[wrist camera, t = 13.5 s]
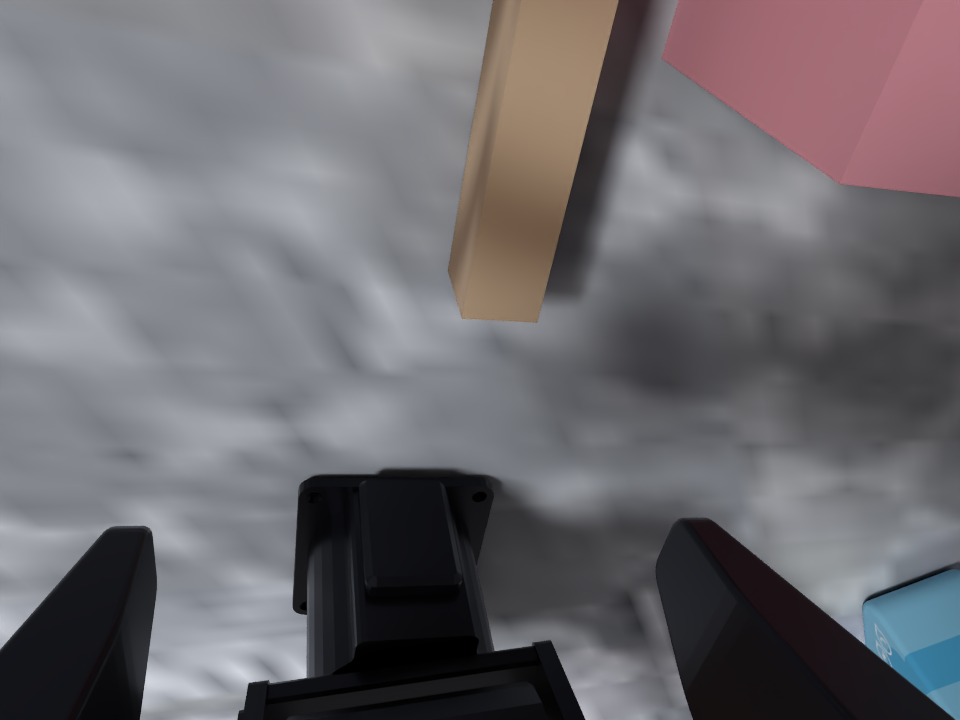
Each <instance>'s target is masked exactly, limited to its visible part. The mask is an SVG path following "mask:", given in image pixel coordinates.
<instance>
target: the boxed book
mask: <svg viewBox="0 0 960 720" xmlns="http://www.w3.org/2000/svg"><path fill="white" fill-rule="evenodd" d="M662 59H663V60H665V61H666V62H667V63H669V64H670V65H672V66H673V67H674V68H676V69H677V70H679V71H680V72H682V73H683V74H684V75H686V76H687V77H689V78H690V79H691V80H693V81H694V82H696V83H697V84H699V85H700V86H701V87H703V88H704V89H706V90H707V91H708V92H710V93H711V94H713V95H714V96H716V97H717V98H718V99H720V100H721V101H723V102H724V103H725V104H727V105H728V106H730V107H731V108H732V109H734V110H735V111H737V112H738V113H740V114H741V115H742V116H744V117H745V118H747V119H748V120H749V121H751V122H752V123H754V124H755V125H757V126H758V127H759V128H761V129H762V130H764V131H765V132H766V133H768V134H769V135H771V136H772V137H774V138H775V139H776V140H778V141H779V142H781V143H782V144H783V145H785V146H786V147H788V148H789V149H791V150H792V151H793V152H795V153H796V154H798V155H799V156H800V157H802V158H803V159H805V160H806V161H808V162H809V163H810V164H812V165H813V166H815V167H816V168H817V169H819V170H820V171H822V172H823V173H825V174H826V175H827V176H829V177H830V178H832V179H833V180H834V181H836V182H837V183H839V184H845V185H854V186H863V187H872V188H881V189H890V190H899V191H908V192H917V193H926V194H935V195H944V196H953V197H960V0H679V1H678V5H677V8H676V12H675V15H674V18H673V22H672V25H671V29H670V32H669V35H668V39H667V42H666V46H665V49H664V52H663V56H662Z"/></svg>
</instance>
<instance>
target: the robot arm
mask: <svg viewBox="0 0 960 720" xmlns="http://www.w3.org/2000/svg"><path fill="white" fill-rule="evenodd" d="M480 491H481V493H478V494H475V493H476V492H480ZM313 492H317V493H319V494H315V495H312V494H310V493H313ZM493 497H494V493H493V489H492V485H491V483H490V482H489V481H488V480H486V479H483V478H311V479H307V480H305V481H303V482H302V483H301V484H300V486H299V491H298V510H297V529H296V548H295V567H294V586H293V610H294V611H295V612H296V613H299V614H304V615H307V678H304V679H297V680H290V681H283V682H276V683H270V682H269V680H267V681H260V682H253V683H249V684H248V690H247V696H246V701H245V707H244V710H240V711H239V714H238V720H585V718H584V716H583V713H582V711H581V709H580V706H579V704H578V702H577V699H576V697H575V695H574V692H573V690H572V688H571V686H570V683H569V681H568V679H567V676H566V674H565V672H564V669H563V667H562V665H561V663H560V660H559V658H558V656H557V653H556V651H555V649H554V646H553V644H552V642H551V640H548V641H541V642H534V643H532V646H529V647H522V648H515V649H508V650H501V651H495V650H494V646H493V641H492V637H491V632H490V627H489V623H488V618H487V614H486V609H485V604H484V600H483V595H482V591H481V586H480V581H479V577H478V572H477V568H476V565H477V561H478V557H479V553H480V549H481V545H482V541H483V537H484V533H485V529H486V525H487V521H488V517H489V513H490V509H491V505H492V501H493ZM656 580H657V584H658V588H659V593H660V597H661V601H662V605H663V609H664V613H665V617H666V621H667V626H668V630H669V634H670V638H671V642H672V646H673V650H674V654H675V659H676V663H677V667H678V671H679V675H680V679H681V682H682V686H683V690H684V693H685V697H686V700H687V703H688V706H689V709H690V712H691V715H692V718H693V720H956V719H954V718H953V717H952V716H951V715H949V714H948V713H947V712H946V711H945V710H943V709H942V708H941V707H940V706H938V705H937V704H936V703H935V702H934V701H932V700H931V699H930V698H929V697H927V696H926V695H925V694H924V693H923V692H921V691H920V690H919V689H918V688H917V687H915V686H914V685H913V684H912V683H910V682H909V681H908V680H907V679H906V678H904V677H903V676H902V675H901V674H899V673H898V672H897V671H896V670H895V669H893V668H892V667H891V666H890V665H888V664H887V663H886V662H885V661H884V660H882V659H881V658H880V657H879V656H877V655H876V654H875V653H874V652H873V651H871V650H870V649H869V648H868V647H866V646H865V645H864V644H863V643H862V642H860V641H859V640H858V639H857V638H856V637H854V636H853V635H852V634H851V633H849V632H848V631H847V630H846V629H845V628H843V627H842V626H841V625H840V624H838V623H837V622H836V621H835V620H834V619H832V618H831V617H830V616H829V615H827V614H826V613H825V612H824V611H823V610H821V609H820V608H819V607H818V606H816V605H815V604H814V603H813V602H812V601H810V600H809V599H808V598H807V597H805V596H804V595H803V594H802V593H801V592H799V591H798V590H797V589H796V588H794V587H793V586H792V585H791V584H790V583H788V582H787V581H786V580H785V579H784V578H782V577H781V576H780V575H779V574H777V573H776V572H775V571H774V570H773V569H771V568H770V567H769V566H768V565H766V564H765V563H764V562H763V561H762V560H760V559H759V558H758V557H757V556H755V555H754V554H753V553H752V552H751V551H749V550H748V549H747V548H746V547H744V546H743V545H742V544H741V543H740V542H738V541H737V540H736V539H735V538H733V537H732V536H731V535H730V534H729V533H727V532H726V531H725V530H724V529H723V528H721V527H720V526H719V525H718V524H716V523H715V522H714V521H712V520H710V519H708V518H680V519H678V520H677V521H676V522H675V523H674V524H673V526H672V528H671V530H670V532H669V535H668V537H667V539H666V541H665V544H664V546H663V548H662V550H661V552H660V555H659V557H658V559H657V563H656ZM156 590H157V574H156V564H155V555H154V545H153V536H152V532H151V530H150V528H148V527H146V526H115V527H111V528H109V529H107V530H106V531H104V532H103V534H102V535H101V536H100V537H99V538H98V539H97V540H96V541H95V543H94V544H93V545H92V546H91V547H90V548H89V549H88V551H87V552H86V553H85V554H84V555H83V556H82V557H81V559H80V560H79V561H78V562H77V563H76V564H75V565H74V566H73V568H72V569H71V570H70V571H69V572H68V573H67V574H66V576H65V577H64V578H63V579H62V580H61V581H60V582H59V584H58V585H57V586H56V587H55V588H54V589H53V590H52V591H51V593H50V594H49V595H48V596H47V597H46V598H45V599H44V601H43V602H42V603H41V604H40V605H39V606H38V607H37V608H36V610H35V611H34V612H33V613H32V614H31V615H30V616H29V618H28V619H27V620H26V621H25V622H24V623H23V624H22V626H21V627H20V628H19V629H18V630H17V631H16V632H15V633H14V635H13V636H12V637H11V638H10V639H9V640H8V641H7V643H6V644H5V645H4V646H3V647H2V648H1V649H0V720H140V714H141V707H142V699H143V691H144V684H145V676H146V669H147V661H148V653H149V646H150V638H151V631H152V623H153V615H154V608H155V600H156Z"/></svg>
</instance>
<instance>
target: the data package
mask: <svg viewBox="0 0 960 720" xmlns="http://www.w3.org/2000/svg"><path fill="white" fill-rule="evenodd" d="M863 621H864V632H865V643H866V647H868V648H869V649H870V650H871V651H873V652H874V653H875V654H876V655H877V656H879V657H880V658H881V659H882V660H884V661H885V662H886V663H887V664H888V665H890V666H891V667H892V668H893V669H895V670H896V671H897V672H898V673H899V674H901V675H902V676H903V677H904V678H906V679H907V680H908V681H909V682H910V683H912V684H913V685H914V686H915V687H917V688H918V689H919V690H920V691H921V692H923V693H924V694H925V695H926V696H927V697H929V698H930V699H931V700H932V701H934V702H935V703H936V704H937V705H938V706H940V707H941V708H942V709H943V710H945V711H946V712H947V713H948V714H949V715H951V716H952V717H953V718H954V719H956V720H960V570H956V569H951V570H948V571H946V572H943V573H940V574H938V575H935V576H932V577H930V578H927V579H924V580H922V581H919V582H916V583H914V584H911V585H908V586H906V587H903V588H900V589H898V590H895V591H892V592H890V593H887V594H884V595H882V596H879V597H877V598H874V599H871V600H869V601H866V602H865V603H864V605H863Z"/></svg>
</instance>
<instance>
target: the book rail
mask: <svg viewBox="0 0 960 720" xmlns="http://www.w3.org/2000/svg"><path fill="white" fill-rule="evenodd" d="M618 1H619V0H493V4H492V10H491V16H490V22H489V28H488V34H487V40H486V46H485V52H484V58H483V64H482V70H481V76H480V82H479V88H478V94H477V100H476V106H475V112H474V118H473V124H472V130H471V136H470V142H469V148H468V154H467V160H466V166H465V172H464V178H463V184H462V190H461V196H460V201H459V207H458V213H457V219H456V225H455V231H454V237H453V243H452V249H451V255H450V261H449V267H448V273H449V276H450V279H451V283H452V286H453V290H454V293H455V296H456V300H457V303H458V306H459V310H460V313H461V317H462V319H479V320H498V321H517V322H536V323H537V322H538V318H539V314H540V310H541V306H542V302H543V298H544V294H545V290H546V286H547V282H548V278H549V274H550V270H551V266H552V262H553V258H554V254H555V250H556V247H557V243H558V239H559V235H560V231H561V227H562V223H563V219H564V215H565V211H566V207H567V203H568V199H569V195H570V191H571V187H572V183H573V179H574V175H575V171H576V167H577V163H578V159H579V155H580V152H581V148H582V144H583V140H584V136H585V132H586V128H587V124H588V120H589V116H590V112H591V108H592V104H593V100H594V96H595V92H596V88H597V84H598V80H599V76H600V72H601V68H602V64H603V60H604V57H605V53H606V49H607V45H608V41H609V37H610V33H611V29H612V25H613V21H614V17H615V13H616V9H617V5H618Z"/></svg>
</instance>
